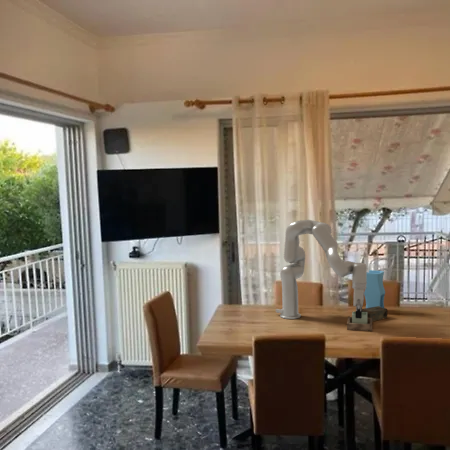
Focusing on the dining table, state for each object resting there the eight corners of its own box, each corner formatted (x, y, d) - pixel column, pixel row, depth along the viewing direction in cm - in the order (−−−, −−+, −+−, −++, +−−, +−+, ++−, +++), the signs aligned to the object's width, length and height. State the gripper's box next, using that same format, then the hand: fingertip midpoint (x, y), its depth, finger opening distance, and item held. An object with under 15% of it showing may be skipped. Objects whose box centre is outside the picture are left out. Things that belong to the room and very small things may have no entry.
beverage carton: (387, 318, 267) (387, 307, 267) (365, 324, 257) (365, 312, 257) (377, 315, 274) (377, 304, 274) (354, 320, 264) (354, 309, 264)
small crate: (352, 326, 249) (351, 314, 249) (352, 323, 256) (352, 311, 255) (367, 327, 247) (367, 315, 246) (367, 324, 253) (367, 312, 253)
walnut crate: (347, 329, 247) (347, 323, 246) (348, 322, 260) (348, 316, 260) (372, 331, 243) (372, 324, 242) (372, 324, 256) (372, 318, 256)
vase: (369, 308, 290) (369, 270, 288) (385, 310, 284) (385, 271, 282) (364, 312, 282) (364, 272, 280) (380, 314, 276) (380, 273, 274)
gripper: (352, 281, 259) (352, 311, 261) (351, 288, 243) (351, 319, 244) (366, 282, 257) (366, 312, 258) (366, 289, 240) (365, 320, 242)
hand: (358, 315), depth 251 cm, fingers open, 9 cm apart
